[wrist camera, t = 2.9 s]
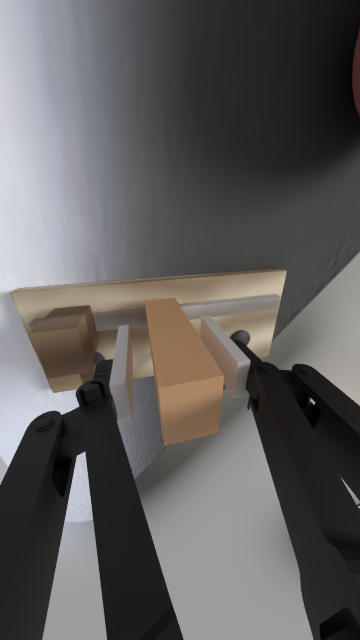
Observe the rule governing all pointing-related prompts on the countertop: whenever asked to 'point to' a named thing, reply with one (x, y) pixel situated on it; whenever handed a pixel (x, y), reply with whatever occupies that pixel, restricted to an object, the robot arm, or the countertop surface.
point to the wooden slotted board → (141, 317)
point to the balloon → (356, 74)
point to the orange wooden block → (182, 374)
